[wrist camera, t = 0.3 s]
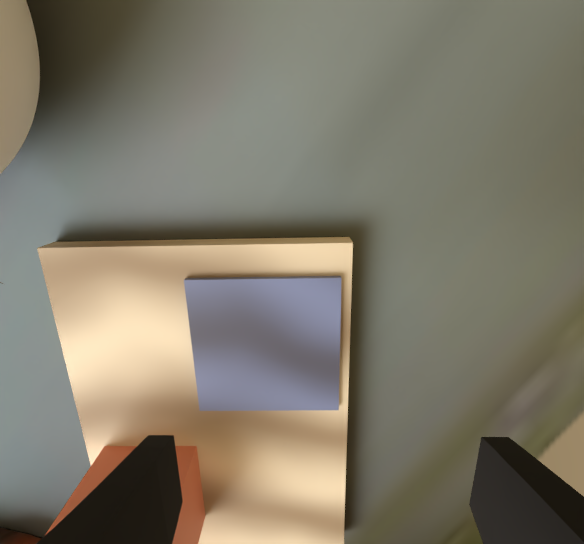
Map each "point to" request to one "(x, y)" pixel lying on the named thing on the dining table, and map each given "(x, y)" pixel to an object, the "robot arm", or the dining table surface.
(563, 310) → the dining table surface
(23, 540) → the lucky cat figurine
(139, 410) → the board
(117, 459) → the strapped orange box
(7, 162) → the cat head
